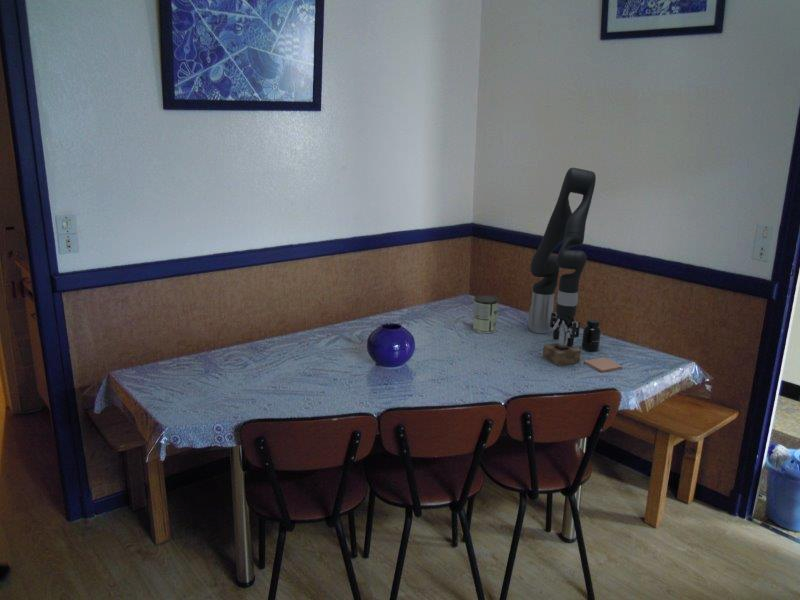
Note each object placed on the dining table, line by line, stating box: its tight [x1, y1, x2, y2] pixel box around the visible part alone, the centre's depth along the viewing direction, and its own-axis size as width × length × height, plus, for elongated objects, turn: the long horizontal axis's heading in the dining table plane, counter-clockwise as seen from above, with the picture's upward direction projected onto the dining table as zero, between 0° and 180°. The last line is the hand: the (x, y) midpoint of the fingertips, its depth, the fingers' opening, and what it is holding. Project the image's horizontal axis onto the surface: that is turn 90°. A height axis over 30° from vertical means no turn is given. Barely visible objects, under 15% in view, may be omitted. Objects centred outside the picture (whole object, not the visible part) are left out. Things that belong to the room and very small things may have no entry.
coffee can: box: [472, 294, 500, 334], centre depth 295 cm, size 10×10×14 cm
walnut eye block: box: [542, 342, 582, 367], centre depth 265 cm, size 10×10×5 cm
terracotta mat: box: [583, 356, 623, 374], centre depth 261 cm, size 10×10×1 cm
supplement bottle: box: [581, 318, 602, 353], centre depth 276 cm, size 7×7×12 cm
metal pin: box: [557, 323, 568, 351], centre depth 263 cm, size 3×3×16 cm
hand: (562, 343), depth 264 cm, fingers open, 7 cm apart
